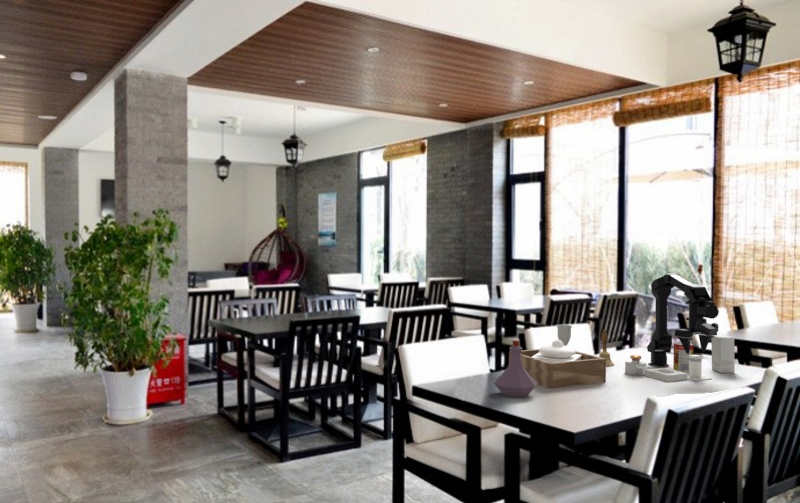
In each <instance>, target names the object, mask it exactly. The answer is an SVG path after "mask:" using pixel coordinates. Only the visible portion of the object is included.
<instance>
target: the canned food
mask: <svg viewBox="0 0 800 503" xmlns="http://www.w3.org/2000/svg"><path fill="white" fill-rule="evenodd" d="M689 355H694V343H691V342H690V351H689V354H687V353H686V351H685V349H684V347H683V345H682V343H681V342H680V341H674V342H673V365H672V366H673V367H672V368H673V369H672V370H676V371H680V372H684V373H689Z"/></svg>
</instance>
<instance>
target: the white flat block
mask: <svg viewBox="0 0 800 503" xmlns="http://www.w3.org/2000/svg"><path fill="white" fill-rule="evenodd" d="M687 375H688V372H680V371H676V370H674V369H671V368H667V367H658V368H657V367H656V368H649V369H647V368H646V370H645V375H644V376H645V377H650V378H653V379H657V380H660V381H665V382H675V381H683V380H684V381H685V380H688V379H687Z"/></svg>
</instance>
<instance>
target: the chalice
mask: <svg viewBox="0 0 800 503" xmlns="http://www.w3.org/2000/svg"><path fill="white" fill-rule="evenodd" d="M556 328H557V340H561V341H562V342H563V344H564V346H568V345H569V342H570V340H571V337H572V328H573V326H572V325H570V324H557V325H556Z"/></svg>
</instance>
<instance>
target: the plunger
mask: <svg viewBox="0 0 800 503" xmlns="http://www.w3.org/2000/svg"><path fill="white" fill-rule="evenodd" d="M629 358H630V359H631V361H632V363H635V364H637V363H640V362H641V359H642V356H641V355H639V354H631V355H630V357H629Z"/></svg>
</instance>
